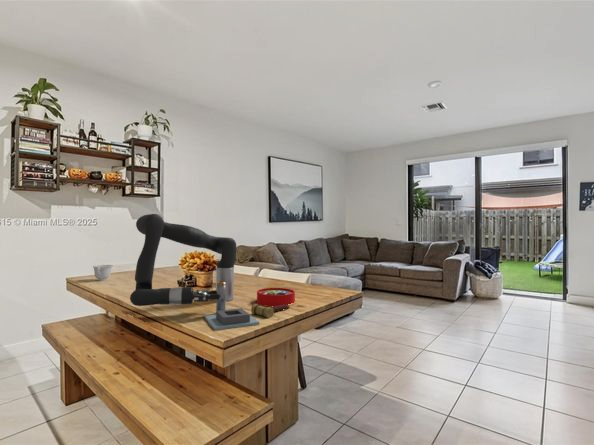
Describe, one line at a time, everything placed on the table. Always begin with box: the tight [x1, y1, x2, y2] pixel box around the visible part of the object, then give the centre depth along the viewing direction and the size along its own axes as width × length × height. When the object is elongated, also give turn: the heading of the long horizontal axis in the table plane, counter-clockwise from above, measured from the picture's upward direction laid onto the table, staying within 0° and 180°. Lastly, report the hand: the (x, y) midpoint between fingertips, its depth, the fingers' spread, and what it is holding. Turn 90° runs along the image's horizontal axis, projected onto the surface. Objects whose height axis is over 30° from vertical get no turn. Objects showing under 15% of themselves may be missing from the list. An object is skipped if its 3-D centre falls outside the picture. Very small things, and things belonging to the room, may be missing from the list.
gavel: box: [250, 303, 291, 319], centre depth 150 cm, size 21×5×10 cm
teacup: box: [92, 264, 113, 282], centre depth 223 cm, size 12×15×10 cm
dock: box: [204, 307, 260, 331], centre depth 134 cm, size 18×18×4 cm
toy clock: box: [256, 287, 296, 307], centre depth 170 cm, size 20×6×20 cm
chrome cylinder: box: [215, 282, 227, 312], centre depth 145 cm, size 4×4×14 cm
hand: (219, 294), depth 145 cm, fingers open, 8 cm apart
